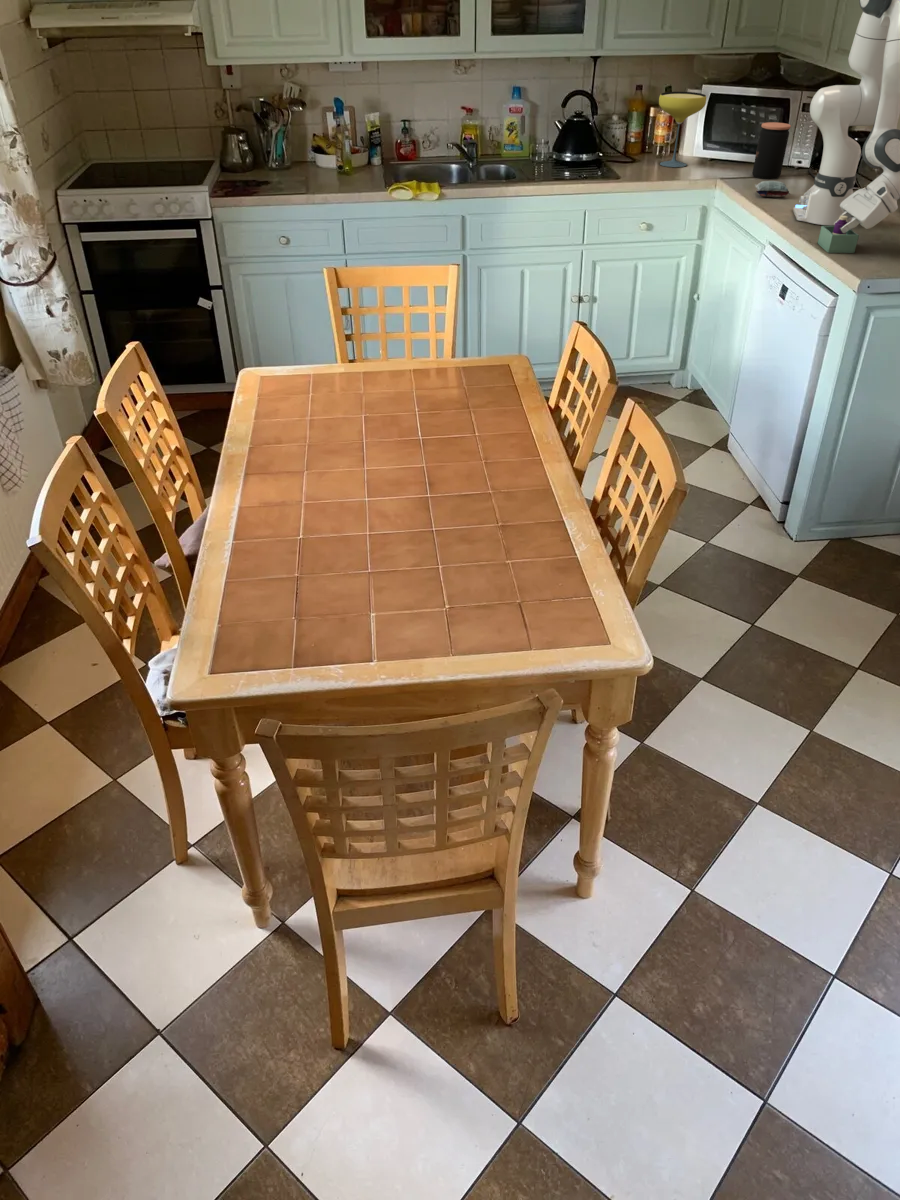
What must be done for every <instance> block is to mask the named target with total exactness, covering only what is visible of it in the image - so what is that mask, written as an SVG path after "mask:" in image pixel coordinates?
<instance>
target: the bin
mask: <svg viewBox="0 0 900 1200" xmlns="http://www.w3.org/2000/svg"><path fill="white" fill-rule="evenodd" d="M833 230H834V225H821V227H820V231H819V234H818V239H817V245H818V246H819V247H821V248H822V249H823V250H824V251H825V252H826V253H828V254H855V251H856V248H857V244H858V240H859V237H860V234H858V233H857V232H855V231H854V230H853V228H852V229H850V230H848V231H847V233H846V235H833V234H832V233H833Z"/></svg>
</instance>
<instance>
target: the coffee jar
mask: <svg viewBox="0 0 900 1200" xmlns="http://www.w3.org/2000/svg"><path fill="white" fill-rule="evenodd" d="M791 127H792V125H791V124H790V123H785V122H776V121H774V122H773V121H770V122H769V121H768V122H762V123H761V130H760V131H759V136H758V142H757V146H756V151H755V152H756V153H755V157H754V162H753V163H754V164H753V167H752V175H753V177H754V178H757V179H761V180H775V179H776V180H777V179H778V178H779V177H780V176H781V174H782V170H783V166H784V161H785V155H786V151H787V146H788V141H789V137H790V129H791Z"/></svg>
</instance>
